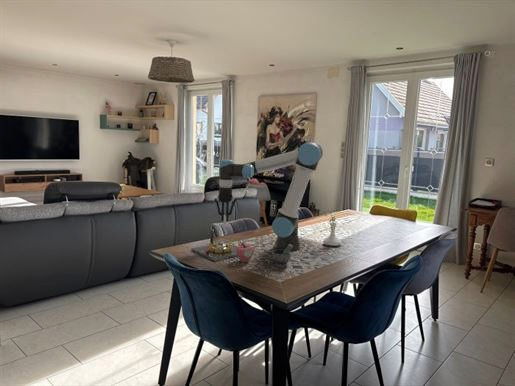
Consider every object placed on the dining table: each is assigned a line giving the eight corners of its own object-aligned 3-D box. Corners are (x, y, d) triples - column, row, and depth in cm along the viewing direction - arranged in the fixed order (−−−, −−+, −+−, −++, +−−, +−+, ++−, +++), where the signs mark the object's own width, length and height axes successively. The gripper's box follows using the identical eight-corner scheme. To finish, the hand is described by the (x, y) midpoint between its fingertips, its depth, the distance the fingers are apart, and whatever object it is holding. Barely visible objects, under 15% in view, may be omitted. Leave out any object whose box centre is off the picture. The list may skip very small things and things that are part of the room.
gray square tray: (250, 253, 216) (250, 245, 216) (214, 261, 201) (214, 252, 200) (225, 243, 235) (226, 236, 234) (191, 250, 219) (191, 242, 219)
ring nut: (236, 250, 217) (237, 233, 215) (217, 254, 209) (217, 237, 207) (220, 243, 229) (220, 228, 228) (201, 247, 221) (201, 231, 220)
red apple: (239, 265, 197) (239, 246, 195) (233, 259, 204) (233, 241, 203) (256, 263, 200) (256, 244, 199) (250, 258, 208) (250, 240, 207)
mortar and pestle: (268, 265, 197) (268, 242, 195) (277, 260, 205) (278, 239, 203) (287, 270, 191) (288, 246, 189) (296, 265, 199) (297, 242, 197)
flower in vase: (329, 241, 246) (331, 202, 243) (345, 245, 238) (347, 205, 235) (317, 244, 237) (319, 205, 234) (332, 249, 229) (335, 207, 226)
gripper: (236, 185, 226) (234, 225, 230) (213, 185, 224) (213, 225, 227) (237, 187, 219) (236, 228, 222) (214, 187, 217) (213, 228, 220)
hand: (224, 226), depth 225 cm, fingers closed
